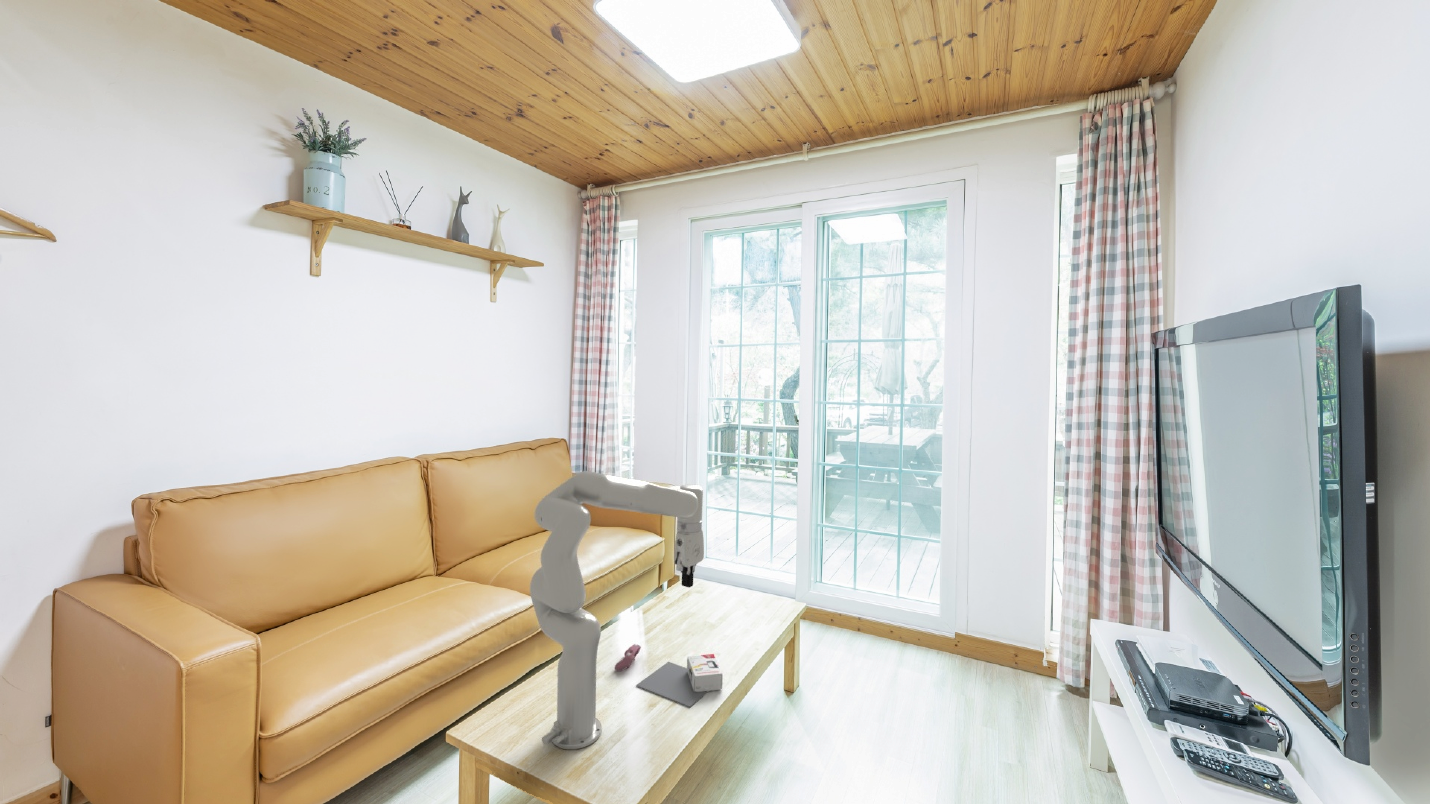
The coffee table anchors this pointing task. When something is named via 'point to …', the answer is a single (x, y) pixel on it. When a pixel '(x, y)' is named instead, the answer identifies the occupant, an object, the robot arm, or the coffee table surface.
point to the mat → (672, 684)
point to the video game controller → (628, 658)
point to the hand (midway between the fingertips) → (687, 585)
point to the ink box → (704, 673)
